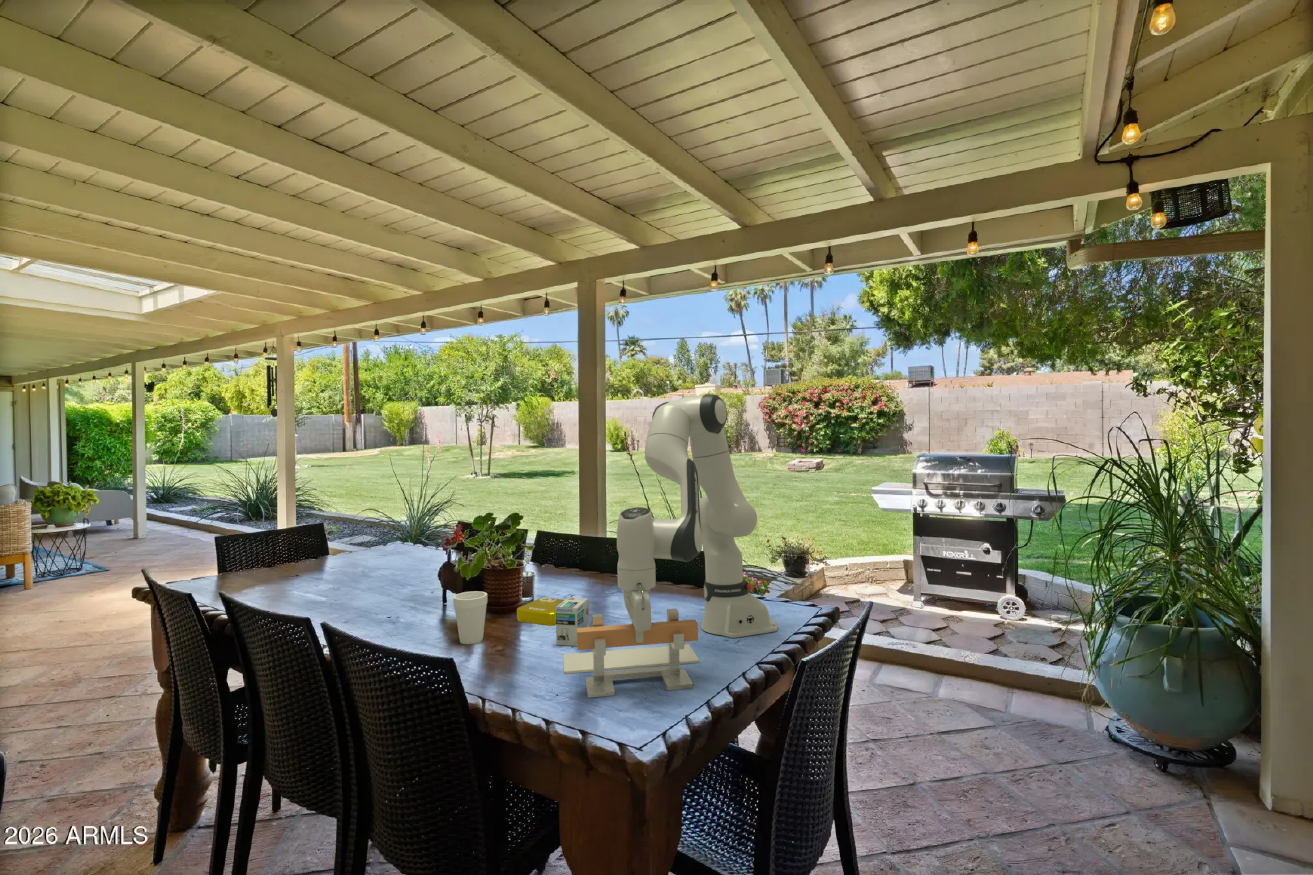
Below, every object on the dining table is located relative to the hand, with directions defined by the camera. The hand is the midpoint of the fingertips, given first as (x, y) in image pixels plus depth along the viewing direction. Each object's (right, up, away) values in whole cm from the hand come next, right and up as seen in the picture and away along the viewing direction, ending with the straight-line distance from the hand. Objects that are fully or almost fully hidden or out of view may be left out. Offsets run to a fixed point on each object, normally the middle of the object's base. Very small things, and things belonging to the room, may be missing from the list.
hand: (637, 638), depth 141 cm
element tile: (-31, -12, +56) cm, 65 cm away
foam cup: (-49, -12, +34) cm, 61 cm away
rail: (0, -1, 0) cm, 1 cm away
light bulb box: (-20, -12, +33) cm, 40 cm away
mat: (-3, -11, +17) cm, 20 cm away
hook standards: (0, -11, 0) cm, 11 cm away
